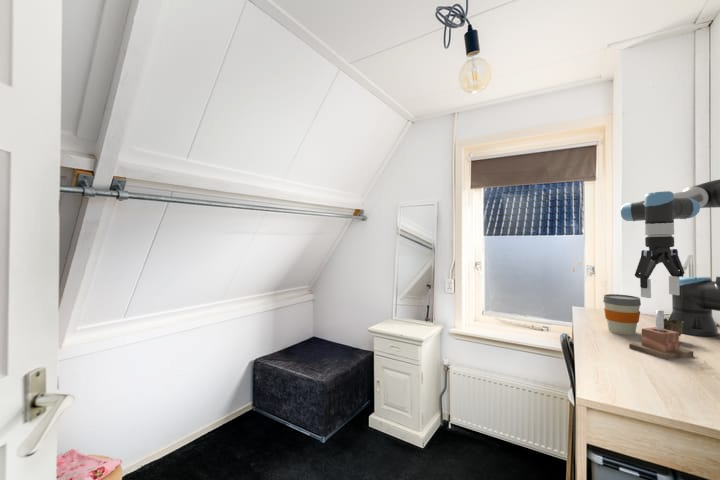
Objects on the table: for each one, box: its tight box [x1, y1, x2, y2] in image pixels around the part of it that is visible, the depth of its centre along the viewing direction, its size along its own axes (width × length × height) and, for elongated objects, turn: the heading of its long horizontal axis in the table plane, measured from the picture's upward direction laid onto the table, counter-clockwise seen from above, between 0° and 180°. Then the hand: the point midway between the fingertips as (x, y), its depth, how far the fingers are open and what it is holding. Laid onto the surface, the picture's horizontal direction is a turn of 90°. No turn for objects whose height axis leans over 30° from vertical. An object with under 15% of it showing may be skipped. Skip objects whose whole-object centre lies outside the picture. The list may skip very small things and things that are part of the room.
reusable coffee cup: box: [603, 293, 642, 336], centre depth 139 cm, size 13×12×15 cm
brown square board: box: [628, 341, 694, 361], centre depth 114 cm, size 12×12×2 cm
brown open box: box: [641, 326, 680, 352], centre depth 114 cm, size 7×7×6 cm
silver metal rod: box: [655, 309, 665, 332], centre depth 114 cm, size 2×2×13 cm
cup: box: [664, 317, 684, 337], centre depth 126 cm, size 8×7×8 cm
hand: (660, 296), depth 114 cm, fingers open, 13 cm apart
